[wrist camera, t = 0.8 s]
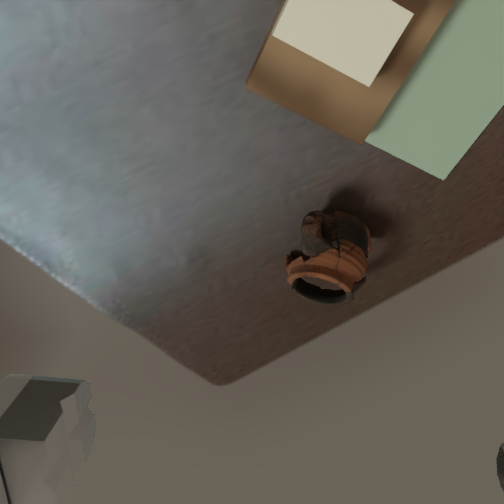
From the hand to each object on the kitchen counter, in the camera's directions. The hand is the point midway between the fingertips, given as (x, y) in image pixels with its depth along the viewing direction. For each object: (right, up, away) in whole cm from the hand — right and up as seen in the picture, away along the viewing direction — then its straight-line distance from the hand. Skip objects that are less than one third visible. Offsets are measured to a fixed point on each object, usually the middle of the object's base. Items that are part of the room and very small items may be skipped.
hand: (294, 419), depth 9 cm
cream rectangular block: (+6, +22, +28) cm, 36 cm away
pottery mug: (+7, +5, +43) cm, 44 cm away
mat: (+18, +19, +33) cm, 42 cm away
